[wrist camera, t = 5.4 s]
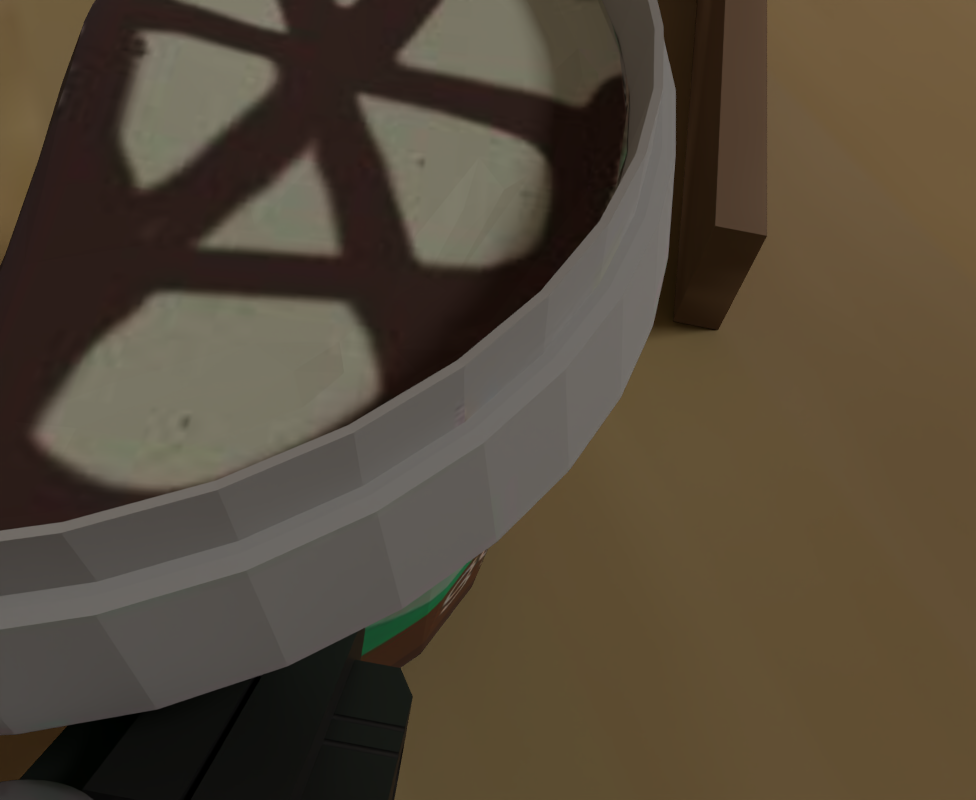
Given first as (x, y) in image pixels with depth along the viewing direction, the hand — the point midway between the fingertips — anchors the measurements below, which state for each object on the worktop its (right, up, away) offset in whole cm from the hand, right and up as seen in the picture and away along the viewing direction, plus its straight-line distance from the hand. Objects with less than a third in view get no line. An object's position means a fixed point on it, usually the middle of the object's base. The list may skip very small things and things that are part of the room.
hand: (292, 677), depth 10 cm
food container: (0, +1, +6) cm, 7 cm away
